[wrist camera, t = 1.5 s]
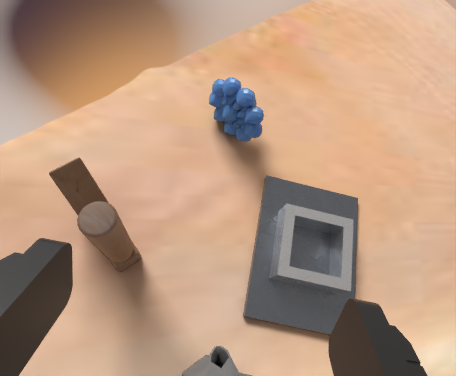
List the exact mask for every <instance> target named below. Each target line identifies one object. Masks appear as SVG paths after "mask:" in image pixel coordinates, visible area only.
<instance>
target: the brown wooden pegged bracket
mask: <svg viewBox="0 0 456 376" xmlns="http://www.w3.org/2000/svg"><path fill="white" fill-rule="evenodd" d="M49 175H50V176H51V178H52V179H53V181H54V182H55V183H56V185H57V186H58V188H59V189H60V191H61V192H62V193H63V195H64V196H65V198H66V199H67V200H68V202H69V203H70V205H71V206H72V208H73V209H74V210H75V212H76V213H77V215H78V219H77V222H78V227H79V230H80V231H81V232H82V233H83V234H84V235H85V236H86V237H87V238H88V239H89V240H90V241H91V242H92V243H93V244H94V245H95V246H96V247H97V248H98V249H99V250H100V251H101V252H102V253H103V254H104V255H105V256H106V257H107V258H108V259H109V260H110V261H111V263H112V264H113V266H114V267H115V269H117V270H118V271H119V272H122V271H123V270H125V269H126V268H128V267H129V266H131V265H132V264H134V263H135V262H137V261H138V260H140V259H141V255H140V253H139V251H138V250H137V248H136V247H135V245H134V244H133V242H132V241H131V239H130V237H129V235H128V233H127V231H126V229H125V227H124V225H123V223H122V221H121V219H120V217H119V215H118V213H117V211H116V209H115V208H114V207H113V206H112V205H111V204H109V203H108V201H107V200H106V198H105V196H104V195H103V193H102V192H101V190H100V188H99V187H98V185H97V184H96V182H95V181H94V179H93V177H92V176H91V174H90V173H89V171H88V169H87V168H86V166H85V165H84V163H83V161H82V160H81V159H80V158H77V159H75V160H73V161H71V162H69V163H67V164H65V165H63V166H61V167H59V168H57V169H55V170H53V171H51V172H49Z"/></svg>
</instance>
